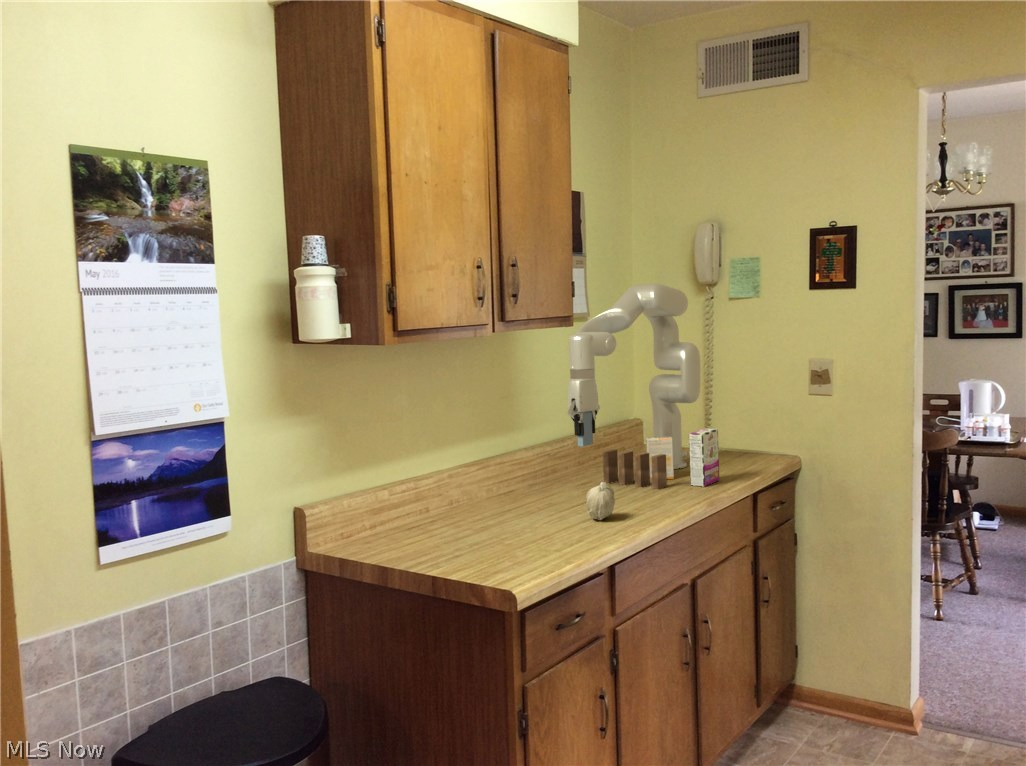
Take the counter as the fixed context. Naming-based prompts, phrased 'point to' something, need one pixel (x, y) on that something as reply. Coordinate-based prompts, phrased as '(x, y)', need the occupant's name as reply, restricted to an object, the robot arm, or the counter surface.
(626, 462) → the domino
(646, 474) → the domino
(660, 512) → the counter surface
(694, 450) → the candy bar box
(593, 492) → the garlic bulb
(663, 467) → the domino
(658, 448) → the supplement box
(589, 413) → the domino
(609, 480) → the domino
